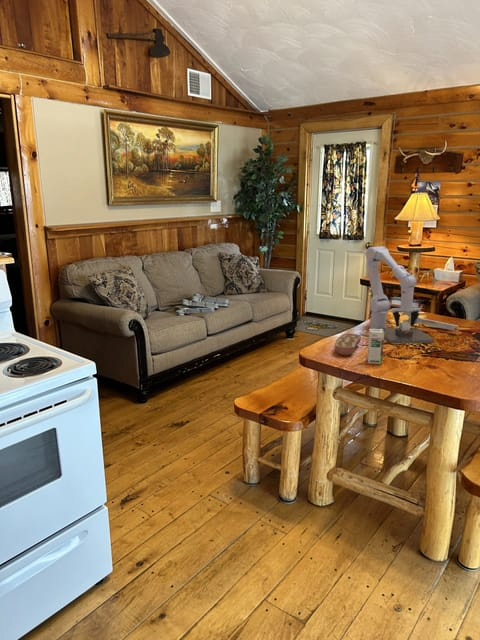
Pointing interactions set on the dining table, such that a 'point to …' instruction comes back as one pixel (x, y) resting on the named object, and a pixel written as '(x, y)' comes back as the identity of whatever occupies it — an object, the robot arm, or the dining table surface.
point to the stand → (406, 336)
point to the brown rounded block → (347, 343)
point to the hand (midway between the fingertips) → (404, 326)
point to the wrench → (429, 322)
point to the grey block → (404, 326)
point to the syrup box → (375, 346)
